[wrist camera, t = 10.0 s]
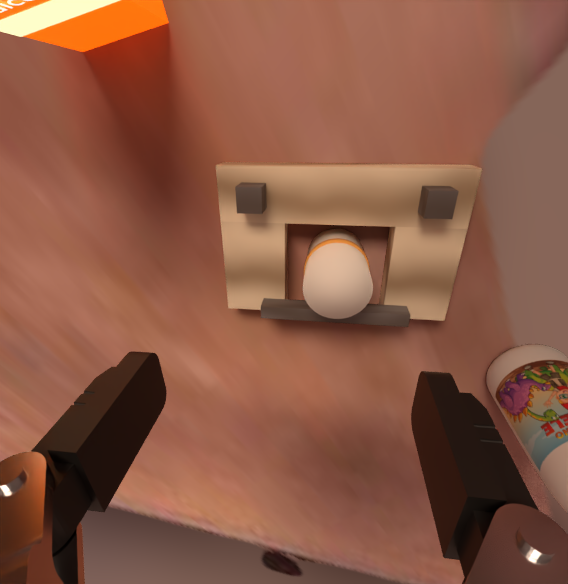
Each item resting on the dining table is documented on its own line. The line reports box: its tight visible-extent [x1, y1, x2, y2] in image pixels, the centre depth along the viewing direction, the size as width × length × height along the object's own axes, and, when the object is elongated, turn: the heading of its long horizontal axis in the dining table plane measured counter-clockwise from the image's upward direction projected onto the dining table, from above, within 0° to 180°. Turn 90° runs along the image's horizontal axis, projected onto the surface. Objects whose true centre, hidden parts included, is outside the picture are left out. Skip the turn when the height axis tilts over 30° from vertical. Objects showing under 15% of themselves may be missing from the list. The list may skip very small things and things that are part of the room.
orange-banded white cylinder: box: [303, 229, 373, 319], centre depth 29 cm, size 5×5×7 cm
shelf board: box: [216, 162, 482, 327], centre depth 29 cm, size 13×20×4 cm, turn 90°
